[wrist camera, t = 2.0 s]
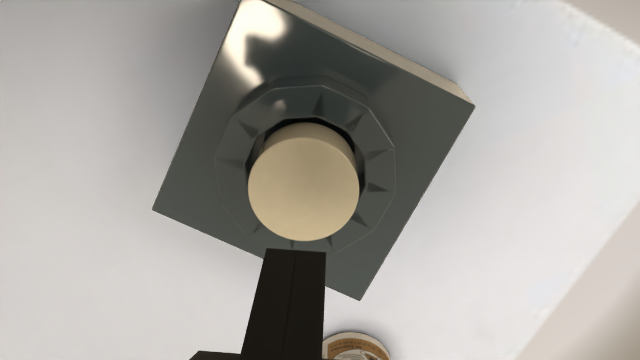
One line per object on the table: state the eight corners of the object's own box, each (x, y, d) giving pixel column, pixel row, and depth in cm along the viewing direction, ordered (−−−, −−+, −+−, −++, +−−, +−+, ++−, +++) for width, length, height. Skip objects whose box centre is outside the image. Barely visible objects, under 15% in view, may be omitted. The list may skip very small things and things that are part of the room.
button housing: (175, 175, 30) (138, 228, 24) (257, -17, 27) (236, -8, 21) (357, 257, 31) (361, 325, 26) (457, 83, 28) (487, 118, 22)
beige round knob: (238, 193, 24) (230, 214, 22) (280, 104, 23) (275, 118, 21) (329, 234, 25) (328, 258, 23) (375, 149, 23) (379, 167, 22)
